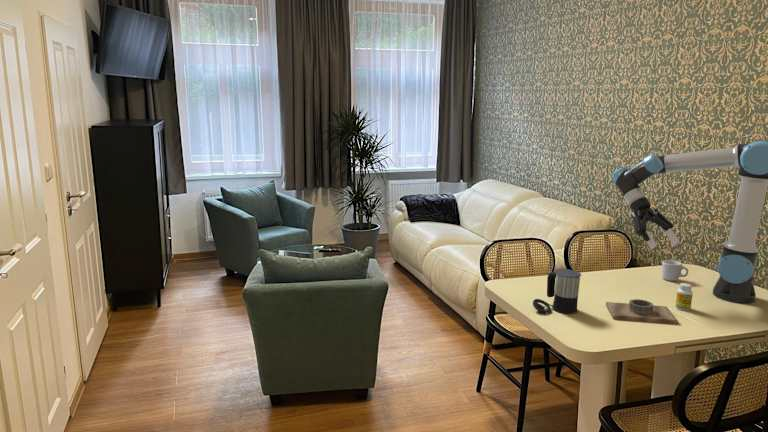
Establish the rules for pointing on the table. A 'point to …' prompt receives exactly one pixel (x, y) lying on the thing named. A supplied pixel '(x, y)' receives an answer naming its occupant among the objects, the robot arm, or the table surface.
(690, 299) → the supplement bottle
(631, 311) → the collar board
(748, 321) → the table surface
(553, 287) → the milk frother
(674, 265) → the cup
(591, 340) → the table surface
